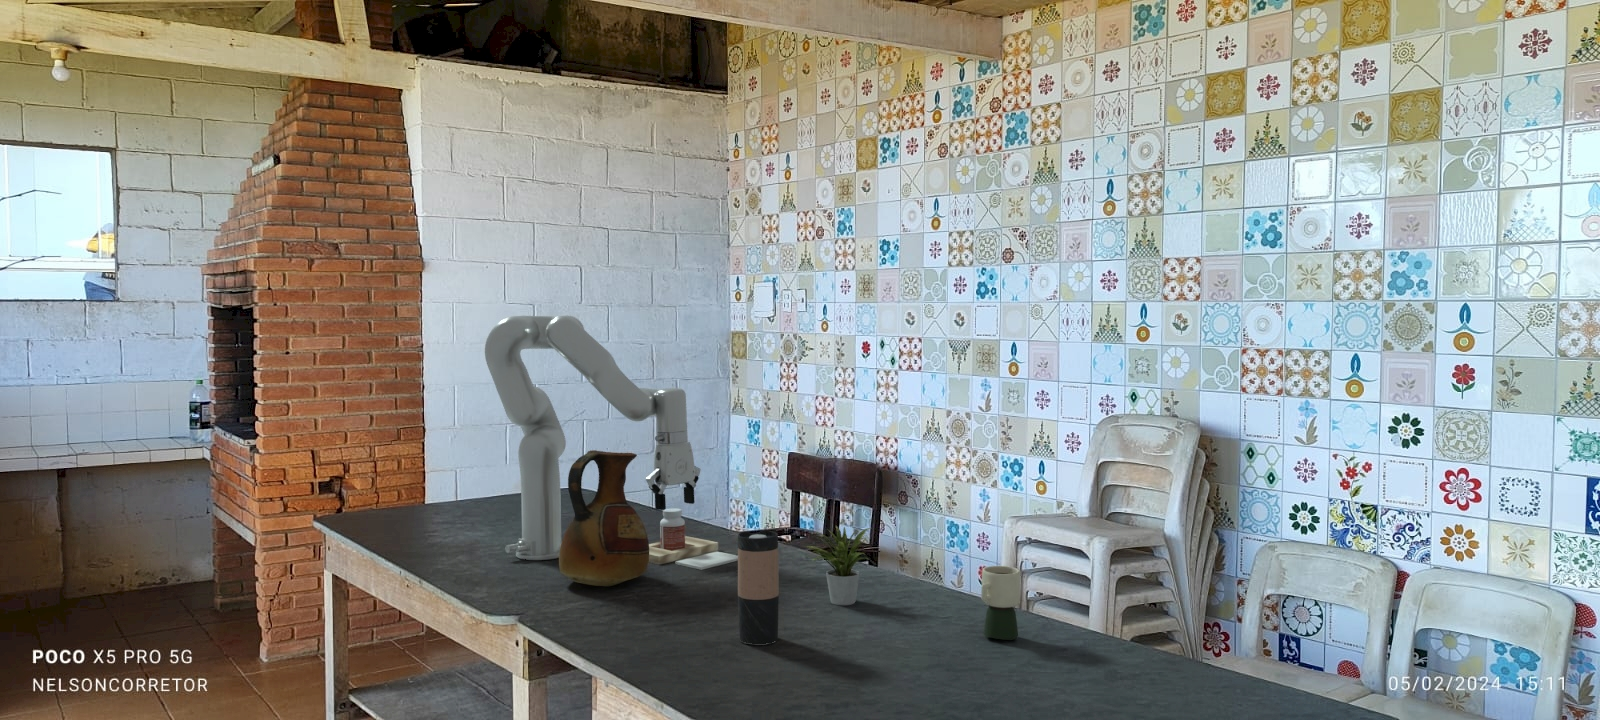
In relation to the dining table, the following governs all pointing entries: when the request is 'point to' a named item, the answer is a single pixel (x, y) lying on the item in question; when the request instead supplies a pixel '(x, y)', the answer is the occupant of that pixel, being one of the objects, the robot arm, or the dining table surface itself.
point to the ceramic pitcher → (603, 526)
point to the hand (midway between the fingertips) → (675, 506)
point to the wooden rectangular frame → (681, 550)
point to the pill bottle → (672, 530)
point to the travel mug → (758, 587)
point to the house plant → (842, 567)
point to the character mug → (1001, 601)
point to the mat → (708, 560)
